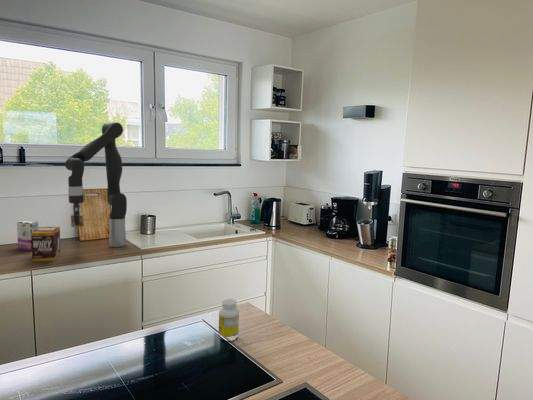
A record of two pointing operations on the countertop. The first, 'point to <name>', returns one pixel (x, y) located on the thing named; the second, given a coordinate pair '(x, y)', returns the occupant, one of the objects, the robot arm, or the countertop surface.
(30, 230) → the candy bar box
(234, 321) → the supplement bottle
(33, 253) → the supplement box
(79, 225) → the walnut block
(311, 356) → the countertop surface
